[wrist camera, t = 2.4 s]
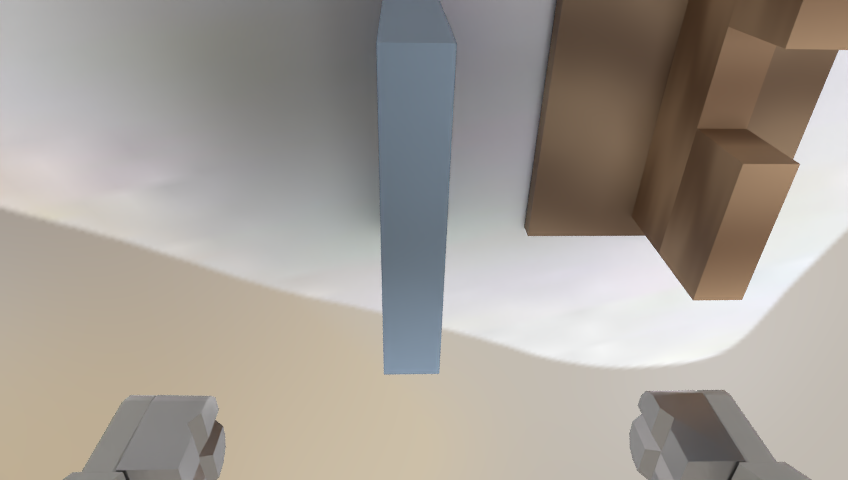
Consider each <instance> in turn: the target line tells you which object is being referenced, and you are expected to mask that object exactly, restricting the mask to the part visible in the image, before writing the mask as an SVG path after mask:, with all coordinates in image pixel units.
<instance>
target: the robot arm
mask: <svg viewBox="0 0 848 480" xmlns="http://www.w3.org/2000/svg"><path fill="white" fill-rule="evenodd" d="M638 406H639V408H640V411H641V413H642V414H641V415H640V416H639V417H638V418H636V419H635V420H634V421H633V422H632V426H631V430H630V450H631V454H632V458H633V461H634V463H635V466H636V468H637V471H638V472H639V473H641V474H642V475H643V476H644V477H645V478H646V479H648V480H811V479H810V478H808V477H807V476H805V475H804V474H802V473H801V472H799V471H797V470H796V469H795V468H793V467H792V466H790V465H789V464H787V463H786V462H777V461H776V460H775V459H774V457H773V456H772V454H771V453H770V451H769V450H768V448H767V447H766V446H765V444H764V443H763V441H762V440H761V438H760V437H759V436H758V434H757V433H756V431H755V430H754V428H753V427H752V425H751V424H750V422H749V421H748V420H747V418H746V417H745V415H744V414H743V412H742V411H741V410H740V408H739V407H738V405H737V404H736V402H735V401H734V399H733V398H732V396H731V395H730V394H729V393H727V392H726V391H724V390H698V391H694V390H685V391H683V390H682V391H646V392H645V393H644V394H642V395H641V398H640V401H639V404H638ZM218 410H219V408H218V405H217V402H216V398H215V397H212V396H178V395H157V396H149V395H147V396H146V395H130V396H129V397H128V398H126V399H125V400H124V401H123V402H122V403H121V405H120V407H119V408H118V410H117V412H116V413H115V415H114V417H113V419H112V420H111V422H110V424H109V425H108V427H107V429H106V431H105V432H104V434H103V436H102V437H101V439H100V441H99V443H98V444H97V446H96V448H95V450H94V451H93V453H92V455H91V456H90V458H89V460H88V462H87V463H86V465H85V467H84V468H83V470H82V472H73V473H71V474H70V475H68V476H67V477H66V478H64V479H63V480H217V479H218V478H219V475H220V472H221V469H222V465H223V461H224V455H225V447H226V446H225V433H224V429H223V426H222V425H221V424H220V423H218V422H217V421H216V420H215V419H216V416H217V413H218Z"/></svg>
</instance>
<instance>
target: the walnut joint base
mask: <svg viewBox="0 0 848 480" xmlns="http://www.w3.org/2000/svg"><path fill="white" fill-rule="evenodd" d="M838 50H848V0H557V2H556V9H555V17H554V24H553V31H552V38H551V45H550V52H549V59H548V66H547V73H546V80H545V87H544V94H543V101H542V108H541V115H540V122H539V129H538V136H537V143H536V150H535V157H534V164H533V171H532V178H531V185H530V192H529V199H528V206H527V213H526V220H525V229H526V232H527V234H528V236H646V237H647V238H648V240H649V241H650V242H651V244H652V245H653V246H654V248H655V249H656V250H657V252H658V253H659V255H660V256H661V257H662V259H663V260H664V261H665V263H666V264H667V265H668V267H669V268H670V270H671V271H672V272H673V274H674V275H675V276H676V278H677V279H678V280H679V282H680V283H681V284H682V286H683V287H684V289H685V290H686V291H687V293H688V294H689V295H690V297H691V298H692V299H693V300H742V299H743V296H744V294H745V292H746V289H747V287H748V285H749V282H750V280H751V278H752V275H753V273H754V270H755V268H756V266H757V263H758V261H759V259H760V256H761V254H762V252H763V249H764V247H765V245H766V242H767V240H768V238H769V235H770V233H771V231H772V228H773V226H774V224H775V221H776V219H777V217H778V214H779V212H780V210H781V207H782V205H783V203H784V200H785V198H786V196H787V193H788V191H789V189H790V186H791V184H792V182H793V179H794V177H795V175H796V172H797V170H798V168H799V165H800V164H799V163H797V162H796V161H794V160H793V158H794V155H795V153H796V151H797V148H798V146H799V144H800V141H801V139H802V136H803V134H804V132H805V129H806V127H807V124H808V122H809V120H810V117H811V115H812V112H813V110H814V108H815V105H816V103H817V100H818V98H819V96H820V93H821V91H822V89H823V86H824V84H825V81H826V79H827V77H828V74H829V72H830V69H831V67H832V65H833V62H834V60H835V57H836V55H837V53H838Z"/></svg>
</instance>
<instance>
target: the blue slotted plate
mask: <svg viewBox="0 0 848 480" xmlns="http://www.w3.org/2000/svg"><path fill="white" fill-rule="evenodd" d="M456 47H457V43H456V41H455V38H454V36H453V33H452V31H451V28H450V26H449V23H448V21H447V18H446V16H445V13H444V11H443V8H442V6H441V4H440V1H439V0H382V7H381V14H380V21H379V27H378V34H377V41H376V49H377V92H378V135H379V179H380V222H381V265H382V309H383V352H384V374H439V367H440V347H441V330H442V311H443V292H444V273H445V254H446V235H447V217H448V198H449V179H450V160H451V141H452V122H453V104H454V85H455V66H456Z"/></svg>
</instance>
